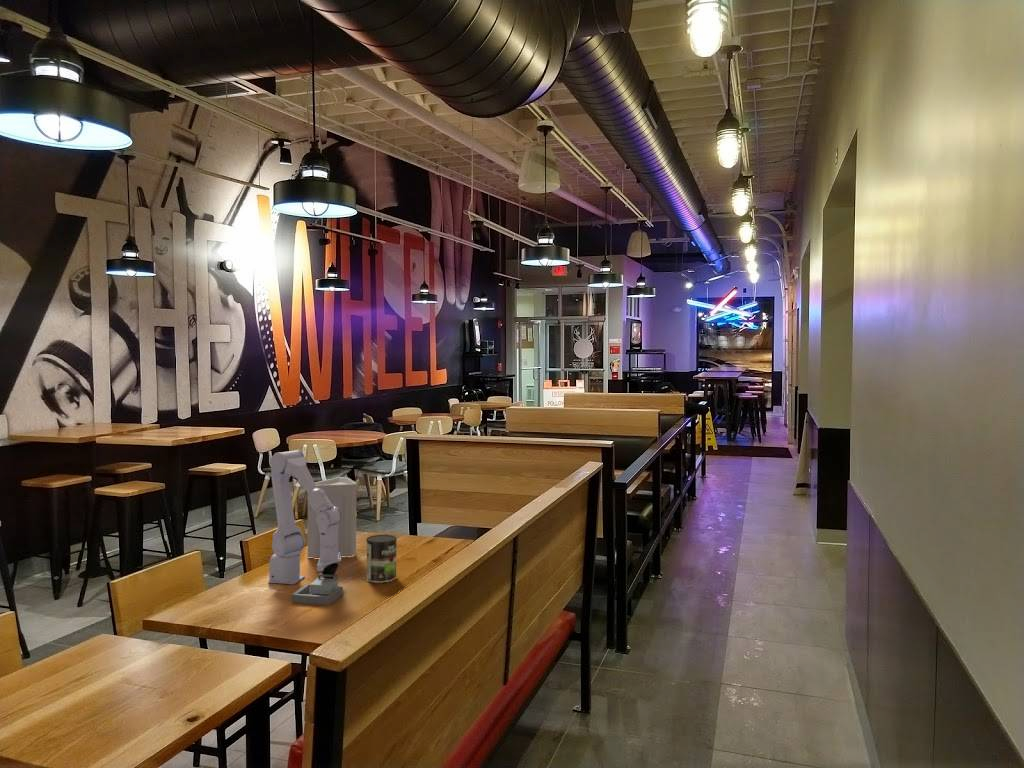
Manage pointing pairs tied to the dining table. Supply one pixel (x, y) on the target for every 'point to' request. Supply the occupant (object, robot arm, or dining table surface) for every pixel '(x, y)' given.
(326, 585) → the box with handle
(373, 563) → the coffee can
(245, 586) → the dining table surface
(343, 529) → the tall upright grey box
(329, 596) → the bay
